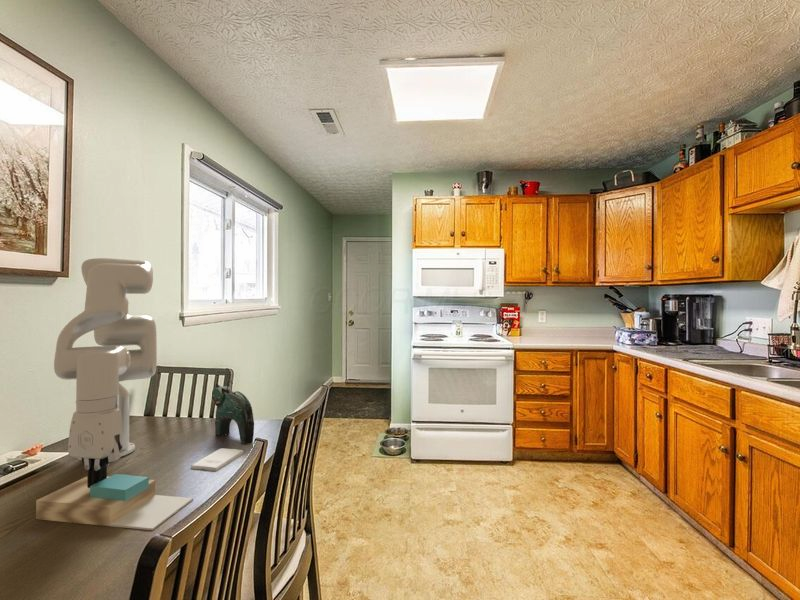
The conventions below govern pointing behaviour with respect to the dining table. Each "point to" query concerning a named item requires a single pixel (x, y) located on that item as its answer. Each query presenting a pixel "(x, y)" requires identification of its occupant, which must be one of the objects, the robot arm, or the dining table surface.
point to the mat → (152, 512)
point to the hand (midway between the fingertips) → (97, 485)
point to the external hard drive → (217, 459)
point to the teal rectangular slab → (119, 487)
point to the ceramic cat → (233, 413)
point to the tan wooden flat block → (87, 505)
